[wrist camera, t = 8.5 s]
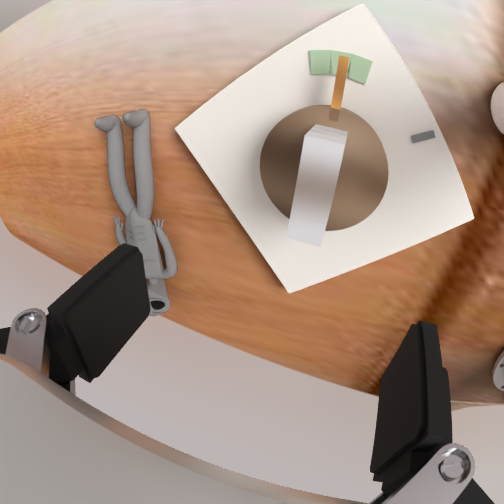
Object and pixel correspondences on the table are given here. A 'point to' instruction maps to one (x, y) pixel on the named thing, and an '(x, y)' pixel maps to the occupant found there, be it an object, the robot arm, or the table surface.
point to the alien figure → (139, 203)
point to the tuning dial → (324, 167)
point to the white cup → (498, 107)
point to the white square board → (355, 100)
